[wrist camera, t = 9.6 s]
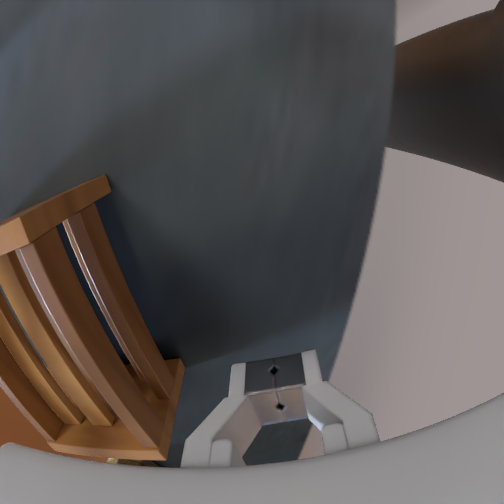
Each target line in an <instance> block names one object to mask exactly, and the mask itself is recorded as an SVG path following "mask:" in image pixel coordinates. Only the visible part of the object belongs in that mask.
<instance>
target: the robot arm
mask: <svg viewBox="0 0 504 504" xmlns="http://www.w3.org/2000/svg"><path fill="white" fill-rule="evenodd" d="M306 418H309V420H310V421H311V422H312V423H313V424H314V425H315V426H316V427H317V428H318V429H319V430H320V431H321V432H322V440H323V447H324V455H323V456H318V457H312V458H307V459H300V460H293V461H286V462H279V463H270V464H261V465H250V466H247V465H246V464H245V462H244V460H243V459H242V457H243V455H244V454H245V452H246V450H247V449H248V447H249V446H250V444H251V443H252V441H253V440H254V438H255V436H256V435H257V433H258V432H259V430H260V429H261V426H262V425H268V424H274V423H280V422H286V421H293V420H300V419H306ZM0 504H504V393H502V394H501V395H499V396H497V397H495V398H493V399H491V400H489V401H487V402H485V403H483V404H480V405H478V406H476V407H474V408H472V409H470V410H467V411H465V412H463V413H460V414H458V415H456V416H453V417H451V418H448V419H446V420H443V421H441V422H438V423H436V424H433V425H431V426H428V427H425V428H422V429H419V430H416V431H414V432H411V433H408V434H404V435H402V436H398V437H395V438H392V439H388V440H385V441H382V442H380V439H379V435H378V432H377V429H376V425H375V422H374V419H373V415H372V413H370V412H369V411H368V410H366V409H365V408H363V407H362V406H361V405H359V404H358V403H356V402H355V401H354V400H352V399H351V398H349V397H348V396H347V395H345V394H344V393H342V392H341V391H340V390H338V389H337V388H336V387H334V386H333V385H332V384H330V383H329V382H327V381H324V382H323V381H322V376H321V371H320V367H319V362H318V357H317V353H316V350H315V349H314V350H310V351H305V352H302V354H301V353H297V354H292V355H287V356H282V357H277V358H271V359H265V360H258V361H251V362H246V363H238V364H233V365H232V367H231V377H230V387H229V397H227V398H224V399H223V400H222V401H221V402H220V403H219V405H218V406H217V407H216V408H215V409H214V410H213V411H212V412H211V413H210V414H209V416H208V417H207V418H206V419H205V420H204V421H203V422H202V423H201V424H200V425H199V426H198V427H197V428H196V430H195V431H194V432H193V433H192V434H191V435H190V436H189V437H188V438H187V439H186V440H185V445H184V450H183V455H182V461H181V466H180V468H167V467H147V466H134V465H124V464H114V463H106V462H99V461H92V460H86V459H79V458H74V457H68V456H64V455H59V454H54V453H50V452H45V451H41V450H37V449H33V448H29V447H26V446H23V445H19V444H16V443H6V444H4V445H3V446H1V447H0Z"/></svg>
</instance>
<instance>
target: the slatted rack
mask: <svg viewBox="0 0 504 504" xmlns="http://www.w3.org/2000/svg"><path fill="white" fill-rule="evenodd" d="M110 192H111V189H110V186H109V183H108V180H107V177H106V175H103V176H100V177H98V178H95V179H93V180H90V181H88V182H85V183H83V184H80V185H78V186H76V187H73V188H71V189H68V190H66V191H64V192H62V193H59V194H57V195H55V196H52V197H50V198H48V199H46V200H44V201H42V202H39V203H37V204H35V205H33V206H31V207H29V208H27V209H25V210H23V211H21V212H19V213H17V214H15V215H13V216H11V217H9V218H7V219H5V220H3V221H1V222H0V284H1V286H2V288H3V290H4V292H5V294H6V296H7V298H8V300H9V302H10V304H11V306H12V308H13V310H14V312H15V313H16V315H17V317H18V319H19V321H20V322H21V324H22V326H23V328H24V329H25V331H26V333H27V334H28V336H29V338H30V339H31V341H32V342H33V344H34V346H35V347H36V349H37V350H38V352H39V354H40V355H41V357H42V358H43V360H44V361H45V363H46V364H47V366H48V367H49V369H50V370H51V371H52V373H53V374H54V376H55V377H56V378H57V380H58V381H59V382H60V384H61V385H62V387H63V388H64V389H65V391H66V392H67V393H68V395H69V398H68V397H67V396H66V395H65V393H64V392H63V391H62V389H61V388H60V387H59V385H58V384H57V383H56V381H55V380H54V378H53V377H52V376H51V374H50V373H49V371H48V370H47V368H46V367H45V366H44V364H43V363H42V361H41V360H40V358H39V357H38V355H37V354H36V352H35V350H34V349H33V347H32V346H31V344H30V342H29V341H28V339H27V338H26V336H25V334H24V333H23V331H22V329H21V328H20V326H19V324H18V322H17V321H16V319H15V317H14V315H13V313H12V312H11V310H10V308H9V306H8V304H7V302H6V300H5V298H4V296H3V294H2V292H1V290H0V336H1V337H0V386H1V387H2V389H3V390H4V391H5V393H6V394H7V395H8V396H9V398H10V399H11V400H12V401H13V403H14V404H15V405H16V406H17V407H18V409H19V410H20V411H21V412H22V413H23V415H24V416H25V417H26V418H27V419H28V420H29V421H30V422H31V424H32V425H33V426H34V427H35V428H36V429H37V430H38V431H39V432H40V433H41V434H42V435H43V437H44V438H45V439H46V440H47V443H48V444H49V445H50V446H51V447H52V448H53V449H54V450H55V451H58V452H64V453H71V454H78V455H86V456H94V457H104V458H116V459H132V460H167V455H168V450H169V445H170V440H171V435H172V430H173V425H174V420H175V415H176V410H177V405H178V401H179V396H180V391H181V387H182V382H183V377H184V373H185V366H184V364H183V362H182V360H181V359H180V358H178V359H170V360H164V359H163V357H162V355H161V354H160V352H159V350H158V348H157V346H156V344H155V342H154V340H153V338H152V336H151V334H150V332H149V330H148V328H147V326H146V324H145V322H144V320H143V318H142V316H141V314H140V312H139V309H138V307H137V305H136V303H135V301H134V299H133V297H132V294H131V292H130V290H129V288H128V285H127V283H126V281H125V279H124V276H123V274H122V272H121V269H120V267H119V265H118V262H117V260H116V257H115V255H114V252H113V250H112V247H111V245H110V242H109V240H108V237H107V235H106V232H105V229H104V227H103V224H102V221H101V219H100V216H99V213H98V210H97V208H96V205H95V203H93V202H95V201H97V200H98V199H100V198H102V197H103V196H105V195H107V194H108V193H110ZM61 222H63V225H64V227H65V230H66V232H67V235H68V238H69V240H70V243H71V245H72V247H73V250H74V252H75V255H76V257H77V259H78V262H79V264H80V266H81V268H82V271H83V273H84V275H85V277H86V279H87V282H88V284H89V286H90V288H91V290H92V292H93V294H94V296H95V298H96V300H97V302H98V304H99V306H100V308H101V310H102V312H103V314H104V316H105V318H106V320H107V322H108V324H109V326H110V328H111V329H112V331H113V333H114V335H115V337H116V339H117V340H118V342H119V344H120V346H121V348H122V349H123V351H124V353H125V354H126V356H127V358H128V360H129V361H130V363H131V364H129V365H124V364H123V362H122V361H121V359H120V357H119V356H118V354H117V352H116V351H115V349H114V347H113V345H112V344H111V342H110V340H109V338H108V337H107V335H106V333H105V331H104V329H103V327H102V326H101V324H100V322H99V320H98V318H97V316H96V314H95V312H94V310H93V309H92V307H91V305H90V303H89V301H88V299H87V297H86V295H85V292H84V290H83V288H82V286H81V284H80V282H79V280H78V278H77V276H76V273H75V271H74V269H73V267H72V264H71V262H70V260H69V258H68V255H67V253H66V250H65V248H64V246H63V243H62V241H61V238H60V236H59V233H58V231H57V228H56V226H57V225H58V224H60V223H61ZM1 338H2V339H3V340H2V339H1ZM3 341H4V342H3ZM4 343H5V344H6V345H5V344H4ZM6 346H7V347H8V348H7V347H6ZM8 349H9V350H10V351H9V350H8ZM10 352H11V353H10ZM11 354H12V355H13V356H12V355H11ZM13 357H14V358H15V359H14V358H13ZM15 360H16V361H17V362H16V361H15ZM17 363H18V364H19V365H18V364H17ZM20 367H21V368H22V369H21V368H20ZM22 370H23V371H24V372H23V371H22ZM24 373H25V374H26V375H25V374H24ZM27 377H28V378H29V379H28V378H27ZM30 381H31V382H32V383H31V382H30ZM32 384H33V385H34V386H35V387H34V386H33V385H32ZM35 388H36V389H37V390H38V391H37V390H36V389H35ZM39 393H40V394H41V395H40V394H39ZM42 397H43V398H44V399H45V400H44V399H43V398H42ZM46 402H47V403H48V404H49V405H48V404H47V403H46ZM51 408H52V409H53V410H54V411H53V410H52V409H51ZM56 414H57V415H58V416H59V417H58V416H57V415H56Z"/></svg>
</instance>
